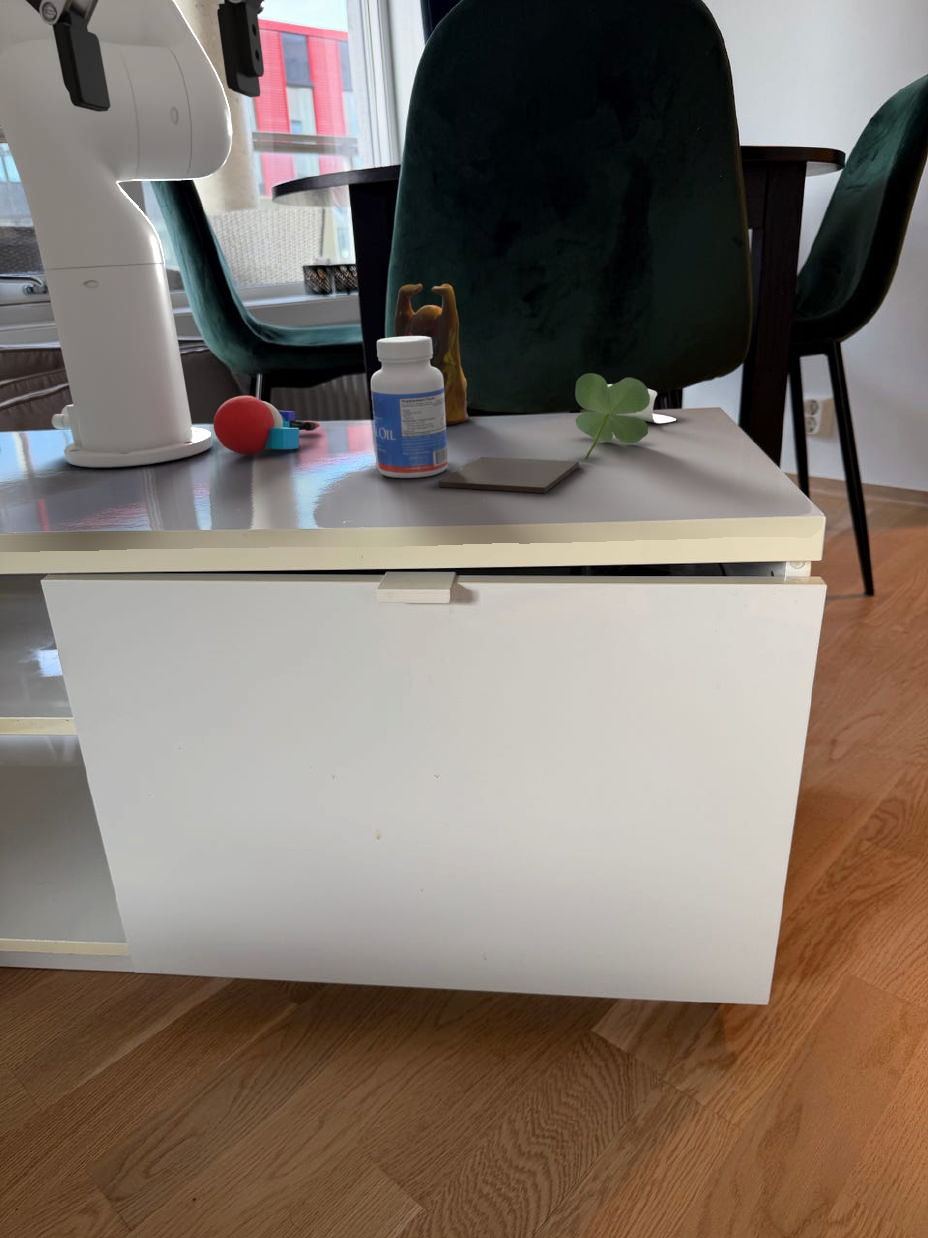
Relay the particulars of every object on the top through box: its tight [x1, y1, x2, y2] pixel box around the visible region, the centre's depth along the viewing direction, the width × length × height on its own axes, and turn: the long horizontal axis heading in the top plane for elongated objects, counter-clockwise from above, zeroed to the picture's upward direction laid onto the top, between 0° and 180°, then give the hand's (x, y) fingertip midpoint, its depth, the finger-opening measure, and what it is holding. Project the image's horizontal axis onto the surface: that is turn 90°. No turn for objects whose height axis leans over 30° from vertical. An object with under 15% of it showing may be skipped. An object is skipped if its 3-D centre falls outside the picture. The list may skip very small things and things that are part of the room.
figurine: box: [393, 283, 469, 426], centre depth 85 cm, size 6×7×13 cm
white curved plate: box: [607, 383, 677, 424], centre depth 83 cm, size 4×8×3 cm, turn 31°
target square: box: [437, 456, 580, 494], centre depth 64 cm, size 8×8×1 cm
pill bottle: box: [370, 336, 449, 479], centre depth 66 cm, size 6×5×10 cm
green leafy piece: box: [574, 372, 650, 461], centre depth 70 cm, size 7×8×7 cm
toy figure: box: [213, 395, 320, 455], centre depth 79 cm, size 8×5×15 cm
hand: (167, 100), depth 51 cm, fingers open, 9 cm apart
